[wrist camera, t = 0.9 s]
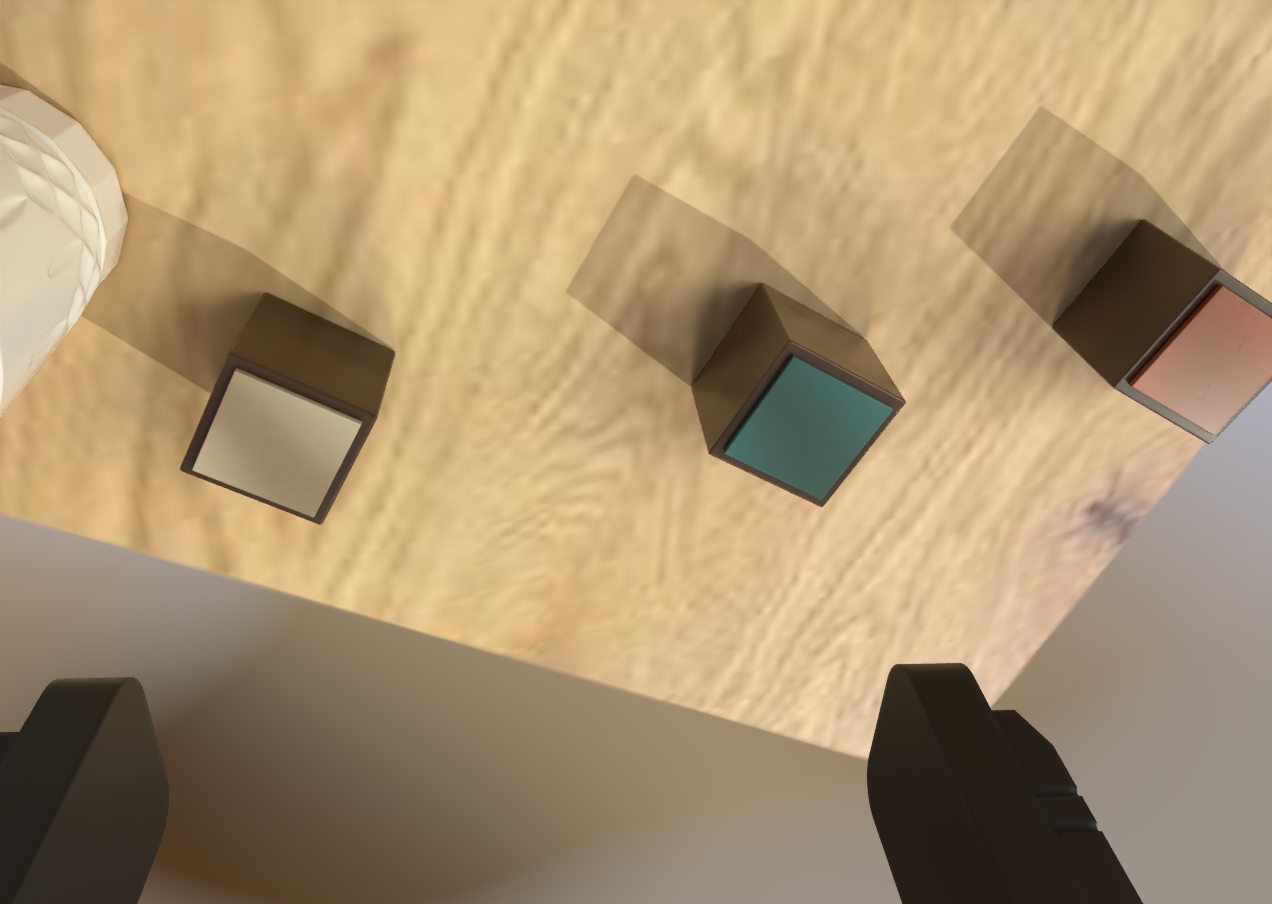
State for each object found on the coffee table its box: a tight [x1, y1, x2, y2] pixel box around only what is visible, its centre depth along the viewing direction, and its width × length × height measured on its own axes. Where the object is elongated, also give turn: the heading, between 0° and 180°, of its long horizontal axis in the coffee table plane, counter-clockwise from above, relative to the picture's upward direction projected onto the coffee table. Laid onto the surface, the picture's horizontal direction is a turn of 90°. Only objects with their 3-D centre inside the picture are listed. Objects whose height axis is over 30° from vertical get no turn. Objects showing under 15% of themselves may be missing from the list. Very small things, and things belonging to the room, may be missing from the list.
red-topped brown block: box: [1053, 220, 1272, 444], centre depth 33 cm, size 4×4×5 cm
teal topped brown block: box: [691, 283, 906, 507], centre depth 33 cm, size 4×4×5 cm
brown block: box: [180, 293, 395, 524], centre depth 32 cm, size 4×4×5 cm
